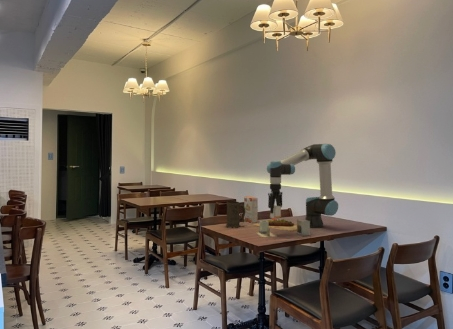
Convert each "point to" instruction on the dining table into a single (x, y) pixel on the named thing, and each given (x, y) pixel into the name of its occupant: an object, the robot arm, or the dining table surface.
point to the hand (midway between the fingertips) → (275, 217)
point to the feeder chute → (303, 227)
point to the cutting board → (281, 224)
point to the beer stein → (234, 214)
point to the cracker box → (251, 209)
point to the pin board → (266, 234)
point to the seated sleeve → (263, 227)
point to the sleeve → (277, 212)
